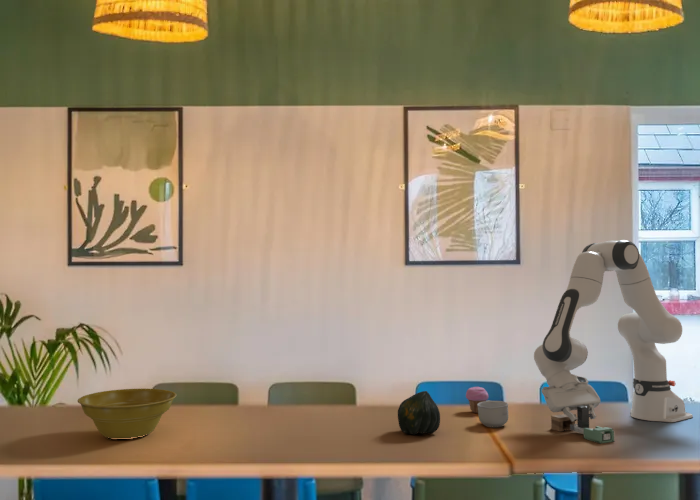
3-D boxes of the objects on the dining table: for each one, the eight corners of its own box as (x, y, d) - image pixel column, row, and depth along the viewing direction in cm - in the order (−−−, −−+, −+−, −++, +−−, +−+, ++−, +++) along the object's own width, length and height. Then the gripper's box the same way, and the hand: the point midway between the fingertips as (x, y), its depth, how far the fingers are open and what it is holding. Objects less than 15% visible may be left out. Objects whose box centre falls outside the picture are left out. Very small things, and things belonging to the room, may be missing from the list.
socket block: (567, 426, 225) (566, 413, 225) (575, 429, 221) (574, 416, 222) (551, 428, 222) (551, 415, 223) (559, 431, 219) (559, 418, 219)
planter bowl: (194, 434, 219) (194, 395, 220) (104, 454, 196) (105, 410, 196) (146, 420, 241) (147, 384, 242) (60, 436, 218) (61, 397, 218)
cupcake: (490, 414, 246) (490, 388, 247) (468, 414, 246) (467, 388, 247) (486, 409, 255) (485, 384, 255) (464, 409, 255) (464, 384, 256)
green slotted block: (597, 436, 211) (597, 424, 211) (614, 441, 205) (613, 428, 205) (583, 438, 209) (583, 426, 209) (599, 443, 202) (599, 430, 203)
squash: (382, 416, 220) (405, 386, 214) (409, 411, 231) (431, 382, 225) (406, 449, 212) (431, 419, 206) (432, 442, 223) (457, 414, 217)
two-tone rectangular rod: (576, 429, 218) (576, 403, 218) (610, 439, 204) (609, 412, 205) (570, 429, 217) (569, 404, 217) (603, 440, 203) (602, 412, 203)
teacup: (509, 429, 222) (508, 406, 222) (477, 428, 224) (477, 405, 224) (507, 420, 235) (507, 399, 236) (477, 419, 237) (477, 398, 238)
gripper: (543, 382, 216) (564, 416, 207) (590, 377, 224) (612, 411, 215) (535, 393, 220) (555, 427, 211) (581, 388, 228) (602, 421, 219)
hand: (584, 419), depth 213 cm, fingers open, 7 cm apart
